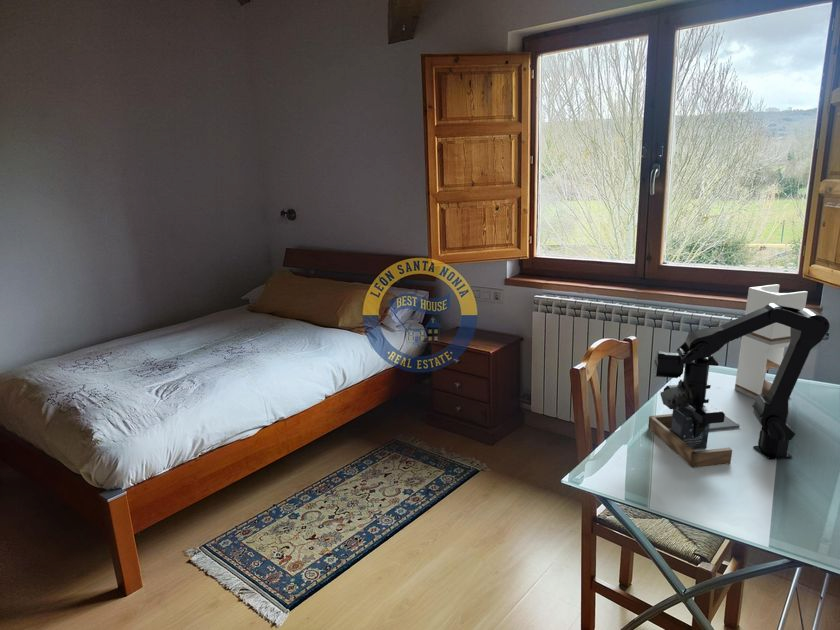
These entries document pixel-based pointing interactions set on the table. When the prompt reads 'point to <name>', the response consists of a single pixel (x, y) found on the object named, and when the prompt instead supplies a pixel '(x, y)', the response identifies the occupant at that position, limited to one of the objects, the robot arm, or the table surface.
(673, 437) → the frame
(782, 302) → the display case
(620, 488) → the table surface
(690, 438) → the box
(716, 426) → the slate mat
